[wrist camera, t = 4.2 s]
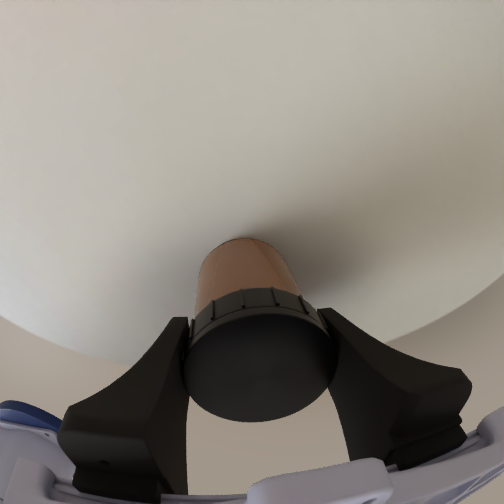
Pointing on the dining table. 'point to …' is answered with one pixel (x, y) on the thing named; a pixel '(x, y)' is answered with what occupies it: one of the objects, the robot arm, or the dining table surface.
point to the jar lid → (257, 355)
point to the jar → (242, 271)
